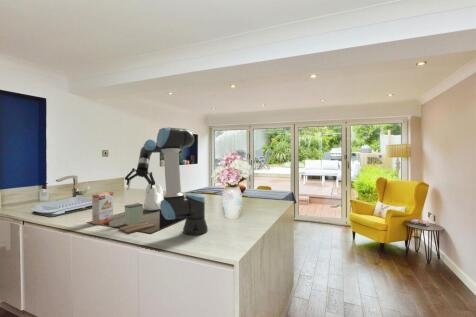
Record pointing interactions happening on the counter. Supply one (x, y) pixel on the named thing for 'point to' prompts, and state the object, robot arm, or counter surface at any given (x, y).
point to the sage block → (133, 214)
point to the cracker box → (102, 207)
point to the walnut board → (136, 227)
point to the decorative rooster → (153, 197)
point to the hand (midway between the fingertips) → (138, 191)
